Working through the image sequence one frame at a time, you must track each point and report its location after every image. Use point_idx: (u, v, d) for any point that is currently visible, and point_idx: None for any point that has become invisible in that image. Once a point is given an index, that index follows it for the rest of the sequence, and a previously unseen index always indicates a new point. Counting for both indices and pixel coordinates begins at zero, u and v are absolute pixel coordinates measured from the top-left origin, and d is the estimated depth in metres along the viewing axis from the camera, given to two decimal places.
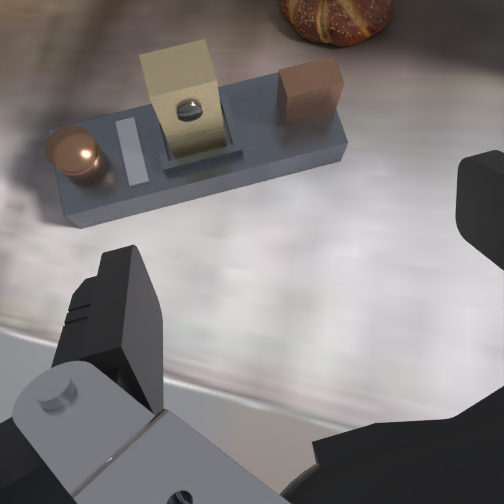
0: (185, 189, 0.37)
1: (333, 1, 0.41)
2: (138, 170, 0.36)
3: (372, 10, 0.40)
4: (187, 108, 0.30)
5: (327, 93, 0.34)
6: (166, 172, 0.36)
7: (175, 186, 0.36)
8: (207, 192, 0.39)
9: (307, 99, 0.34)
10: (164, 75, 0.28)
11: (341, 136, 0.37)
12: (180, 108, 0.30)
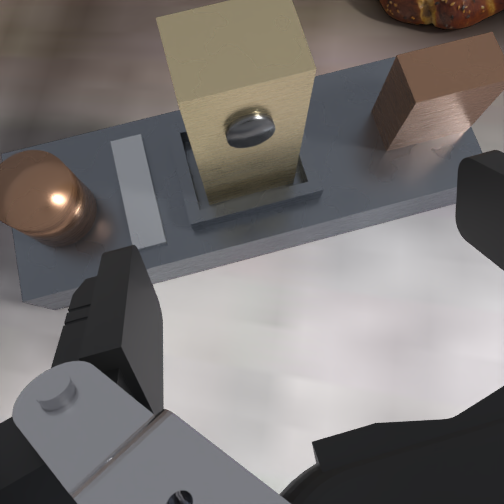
0: (225, 253, 0.22)
1: None
2: (148, 223, 0.22)
3: None
4: (248, 124, 0.15)
5: (478, 96, 0.19)
6: (195, 227, 0.21)
7: (209, 249, 0.22)
8: (256, 253, 0.24)
9: (443, 107, 0.20)
10: (209, 59, 0.14)
11: None
12: (235, 124, 0.15)
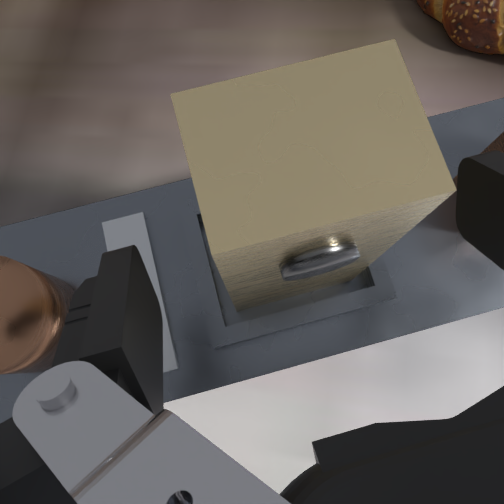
0: None
1: None
2: None
3: None
4: (322, 262, 0.09)
5: None
6: (218, 347, 0.16)
7: (238, 377, 0.16)
8: None
9: None
10: (264, 171, 0.08)
11: None
12: (299, 261, 0.09)
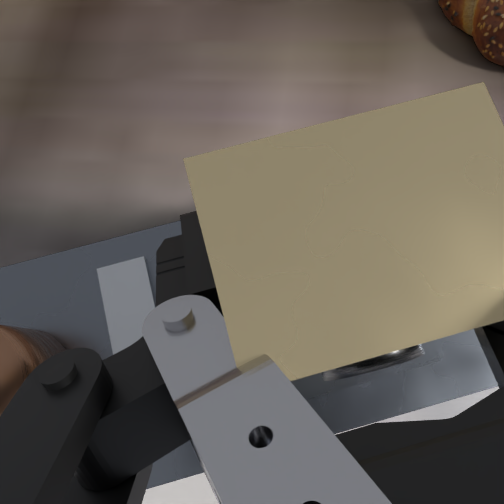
0: None
1: None
2: None
3: None
4: (380, 368, 0.07)
5: None
6: None
7: None
8: None
9: None
10: (315, 269, 0.06)
11: None
12: (350, 368, 0.07)
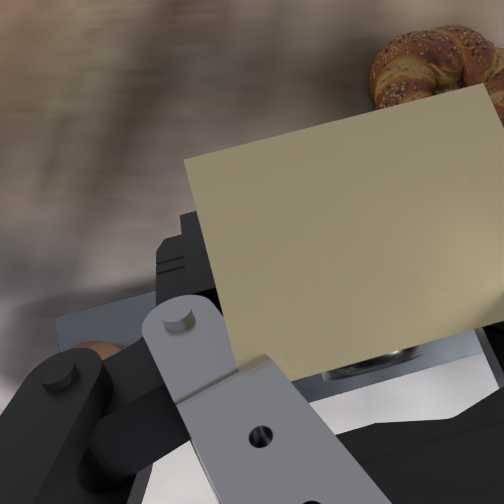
0: None
1: None
2: None
3: None
4: (380, 368, 0.07)
5: None
6: None
7: None
8: None
9: None
10: (314, 270, 0.06)
11: None
12: (350, 368, 0.07)
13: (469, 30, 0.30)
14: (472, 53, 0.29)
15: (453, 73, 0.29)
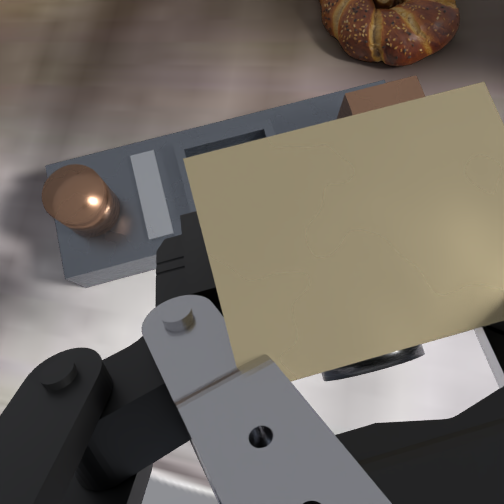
0: None
1: (388, 11, 0.33)
2: (160, 219, 0.28)
3: (438, 22, 0.33)
4: (380, 368, 0.07)
5: None
6: None
7: None
8: None
9: None
10: (314, 269, 0.06)
11: None
12: (350, 367, 0.07)
13: None
14: None
15: None
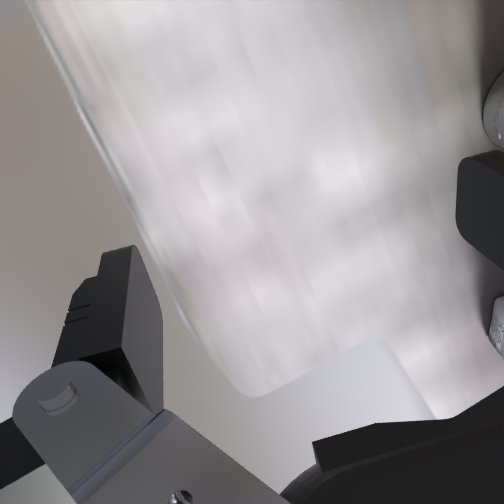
0: None
1: None
2: None
3: None
4: None
5: None
6: None
7: None
8: None
9: None
10: None
11: None
12: None
13: None
14: None
15: None
